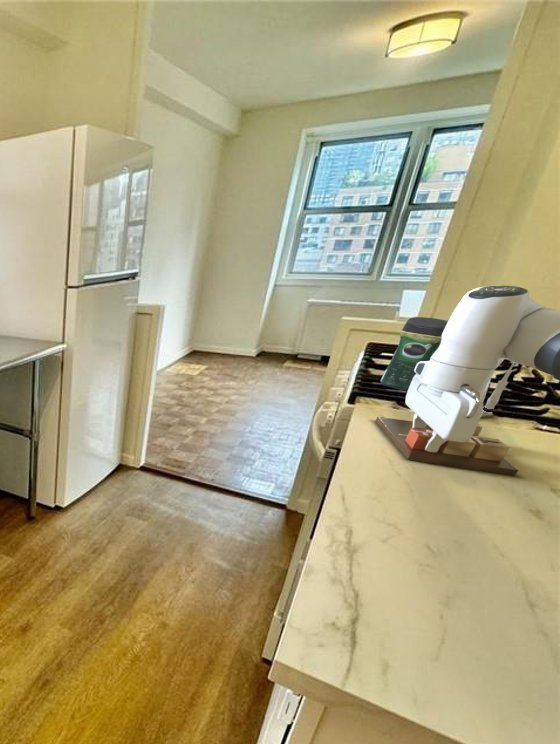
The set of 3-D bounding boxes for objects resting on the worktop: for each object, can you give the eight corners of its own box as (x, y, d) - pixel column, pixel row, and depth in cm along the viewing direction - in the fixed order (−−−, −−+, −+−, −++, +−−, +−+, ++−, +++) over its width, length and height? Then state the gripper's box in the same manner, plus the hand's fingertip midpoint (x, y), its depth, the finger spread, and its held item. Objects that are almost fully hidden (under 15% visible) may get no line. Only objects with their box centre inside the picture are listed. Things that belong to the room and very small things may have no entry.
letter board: (464, 433, 105) (467, 427, 105) (515, 475, 89) (518, 469, 88) (375, 421, 111) (377, 416, 110) (407, 459, 94) (410, 453, 94)
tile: (459, 448, 96) (466, 434, 95) (468, 457, 93) (476, 442, 91) (433, 444, 97) (441, 430, 96) (442, 453, 94) (450, 439, 93)
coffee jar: (428, 389, 130) (462, 319, 121) (419, 395, 126) (453, 323, 117) (385, 379, 137) (413, 313, 128) (374, 385, 133) (403, 316, 124)
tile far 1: (490, 452, 94) (498, 438, 93) (501, 461, 91) (509, 447, 90) (464, 449, 96) (472, 435, 94) (474, 457, 93) (482, 443, 91)
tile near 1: (466, 432, 103) (473, 419, 101) (475, 440, 99) (483, 426, 98) (442, 429, 104) (449, 416, 103) (450, 437, 101) (457, 423, 99)
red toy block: (430, 444, 98) (437, 430, 96) (439, 452, 94) (446, 438, 93) (402, 440, 99) (409, 426, 98) (410, 448, 96) (417, 434, 95)
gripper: (507, 398, 81) (467, 469, 87) (452, 364, 97) (422, 426, 104) (459, 392, 83) (423, 463, 89) (413, 360, 99) (386, 421, 106)
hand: (422, 443), depth 96 cm, fingers open, 5 cm apart
